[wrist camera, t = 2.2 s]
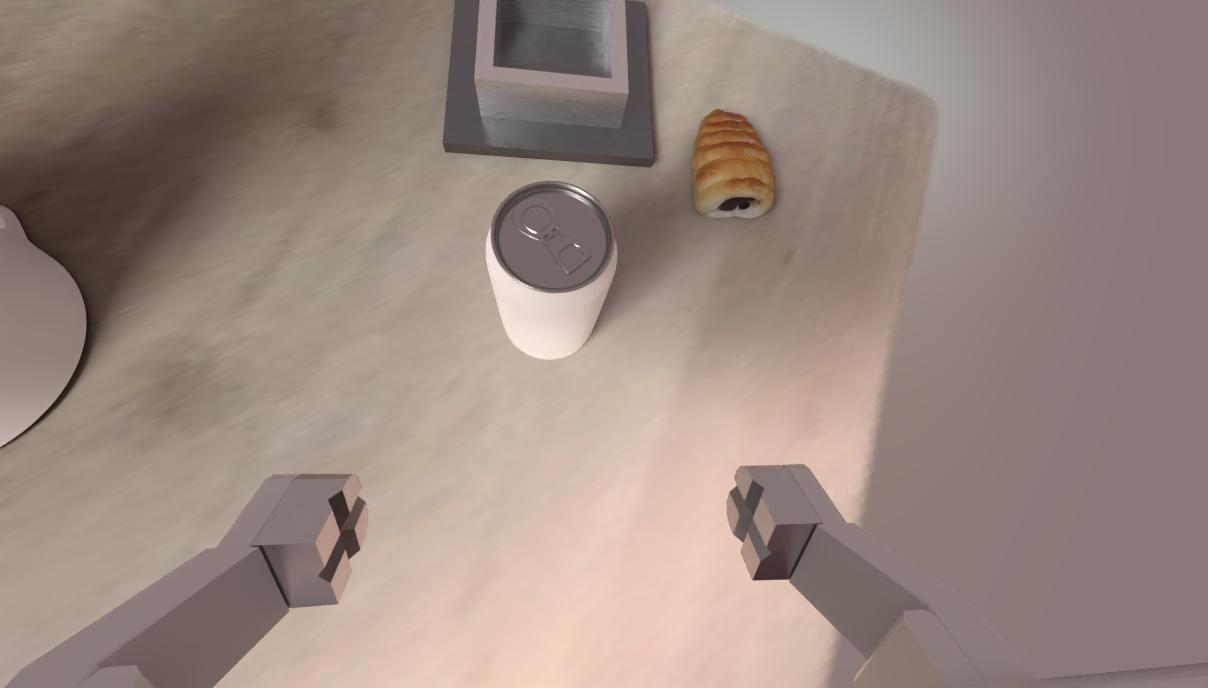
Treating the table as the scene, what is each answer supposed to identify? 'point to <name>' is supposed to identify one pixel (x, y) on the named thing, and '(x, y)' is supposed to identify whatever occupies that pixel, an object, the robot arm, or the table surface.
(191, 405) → the table surface
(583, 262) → the can
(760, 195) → the pastry
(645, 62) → the collar
